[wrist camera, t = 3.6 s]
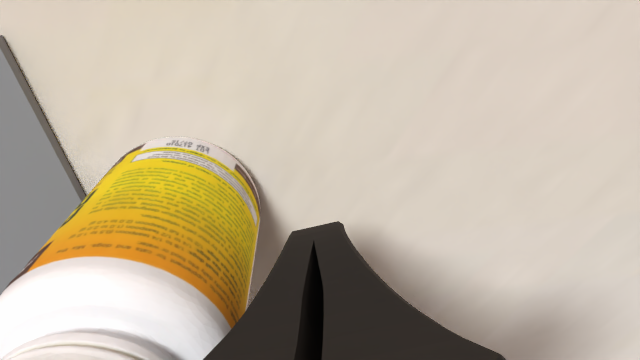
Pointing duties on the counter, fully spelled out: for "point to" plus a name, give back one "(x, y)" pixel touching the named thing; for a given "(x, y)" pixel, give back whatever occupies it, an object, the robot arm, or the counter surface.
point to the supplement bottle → (141, 262)
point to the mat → (28, 174)
